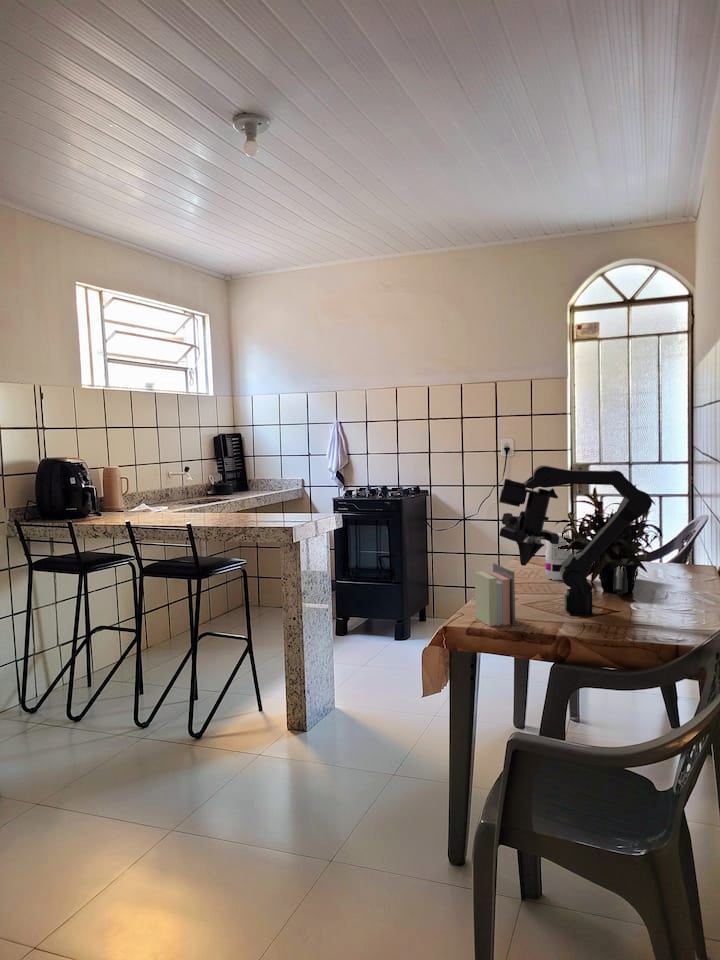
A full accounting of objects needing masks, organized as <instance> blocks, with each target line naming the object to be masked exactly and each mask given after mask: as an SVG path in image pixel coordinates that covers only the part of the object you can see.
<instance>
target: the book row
mask: <svg viewBox="0 0 720 960" xmlns="http://www.w3.org/2000/svg"><path fill="white" fill-rule="evenodd" d="M474 591H475V593H474V594H475V595H474V600H475V607H474V608H475V609H474V610H475V618H476V620H478V621H479V622H480V621H481V623H483V624H485V625H486V624H487V625H486V626H488V627H489V626H490V627H496V626H495V625H497V626H508V625H507V624H510V579H508V578H506V577H504V576H502V575H500V574H498V573H495V572H493V571H492V572H488V573H486V572H484V571H475V572H474ZM501 624H503V625H501ZM510 625H511V624H510Z"/></svg>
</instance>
